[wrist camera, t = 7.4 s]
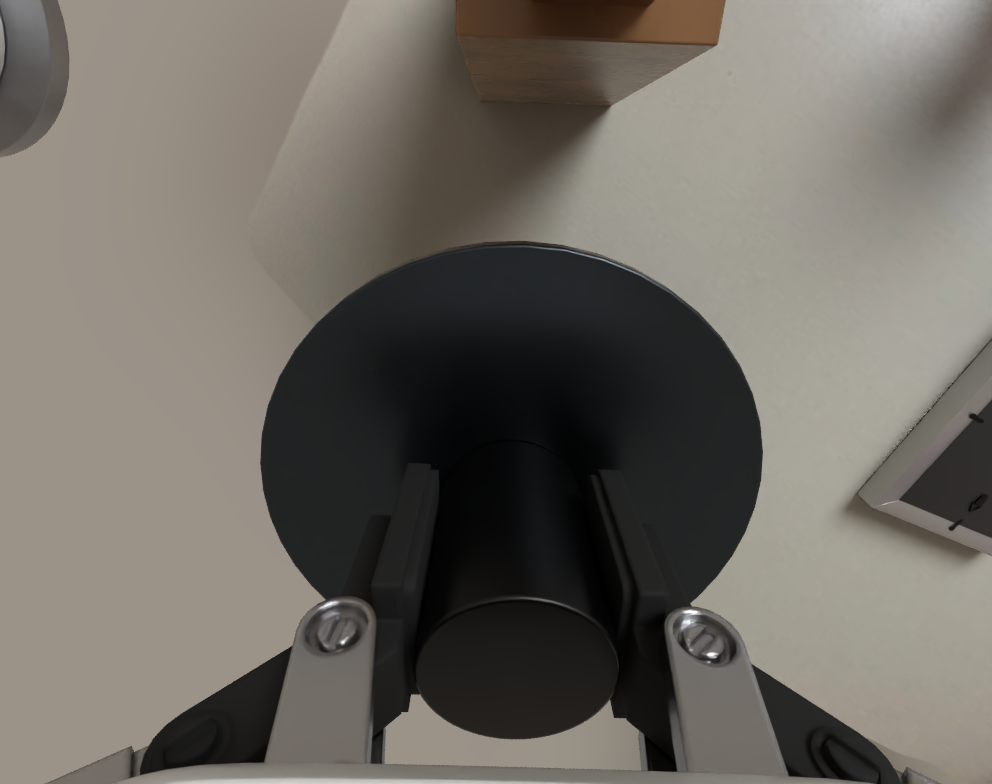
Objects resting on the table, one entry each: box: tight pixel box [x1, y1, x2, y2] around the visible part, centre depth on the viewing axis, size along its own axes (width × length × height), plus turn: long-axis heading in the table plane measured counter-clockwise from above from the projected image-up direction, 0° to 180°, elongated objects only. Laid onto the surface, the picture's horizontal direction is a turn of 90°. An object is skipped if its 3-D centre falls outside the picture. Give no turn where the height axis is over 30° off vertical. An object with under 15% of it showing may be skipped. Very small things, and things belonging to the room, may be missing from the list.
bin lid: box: [260, 241, 763, 739], centre depth 11 cm, size 13×13×6 cm
